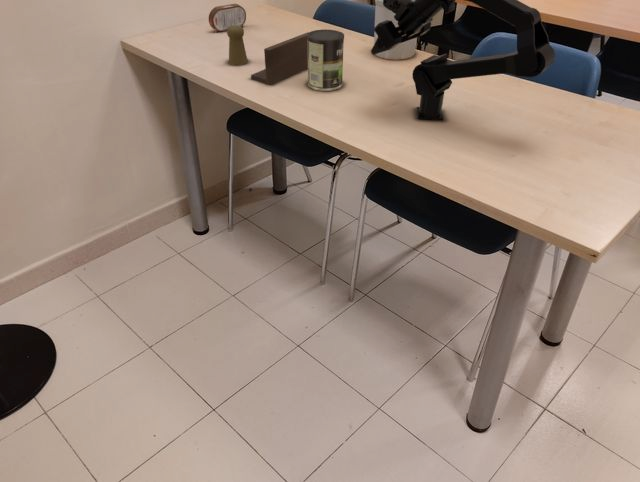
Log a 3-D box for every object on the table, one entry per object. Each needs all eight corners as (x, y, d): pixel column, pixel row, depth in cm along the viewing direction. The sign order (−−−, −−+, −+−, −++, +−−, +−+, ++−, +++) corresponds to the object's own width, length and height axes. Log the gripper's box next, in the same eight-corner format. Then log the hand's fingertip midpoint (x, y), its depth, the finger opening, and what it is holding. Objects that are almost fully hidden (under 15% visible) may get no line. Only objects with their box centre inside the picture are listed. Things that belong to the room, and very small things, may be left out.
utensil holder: (368, 58, 164) (371, 0, 154) (375, 44, 176) (379, -10, 165) (413, 62, 162) (420, 4, 151) (417, 48, 173) (424, -8, 162)
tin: (243, 24, 194) (241, 1, 188) (248, 26, 192) (246, 3, 186) (209, 32, 186) (206, 7, 181) (213, 34, 184) (210, 9, 179)
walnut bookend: (313, 66, 159) (313, 33, 152) (271, 85, 146) (269, 50, 140) (293, 60, 162) (292, 28, 156) (251, 78, 150) (248, 44, 143)
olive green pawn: (224, 63, 160) (220, 27, 153) (236, 57, 164) (232, 22, 157) (240, 66, 158) (237, 30, 151) (251, 60, 162) (248, 25, 155)
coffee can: (345, 79, 150) (347, 30, 141) (339, 92, 142) (340, 41, 133) (311, 76, 151) (311, 27, 143) (303, 89, 143) (303, 38, 135)
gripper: (425, -28, 123) (384, 14, 135) (383, -15, 112) (343, 30, 124) (450, 11, 124) (407, 49, 136) (411, 28, 112) (368, 68, 125)
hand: (382, 48), depth 130 cm, fingers open, 9 cm apart
